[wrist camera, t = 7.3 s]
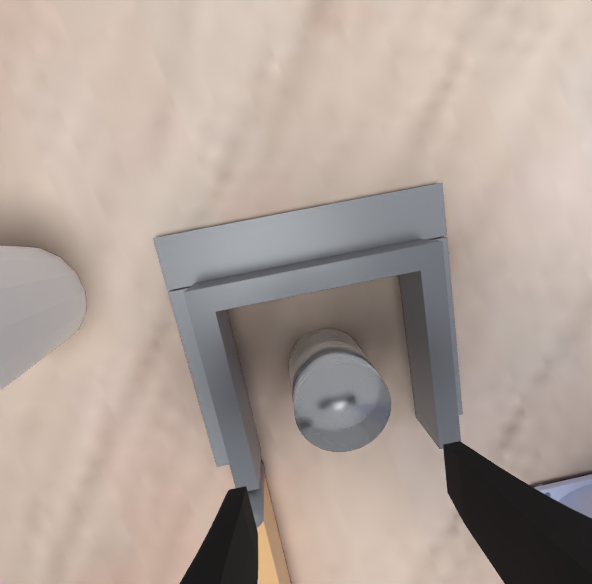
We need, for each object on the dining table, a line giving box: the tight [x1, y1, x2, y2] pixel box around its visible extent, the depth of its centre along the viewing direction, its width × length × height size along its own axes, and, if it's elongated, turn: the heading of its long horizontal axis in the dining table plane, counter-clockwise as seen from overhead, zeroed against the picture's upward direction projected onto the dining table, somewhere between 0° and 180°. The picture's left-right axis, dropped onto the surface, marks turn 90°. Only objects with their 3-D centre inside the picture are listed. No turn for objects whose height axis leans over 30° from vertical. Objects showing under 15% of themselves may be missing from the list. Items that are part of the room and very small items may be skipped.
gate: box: [248, 462, 291, 584], centre depth 20 cm, size 12×1×4 cm, turn 10°
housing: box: [153, 183, 463, 491], centre depth 18 cm, size 15×14×3 cm
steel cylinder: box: [289, 328, 391, 452], centre depth 17 cm, size 4×4×5 cm
